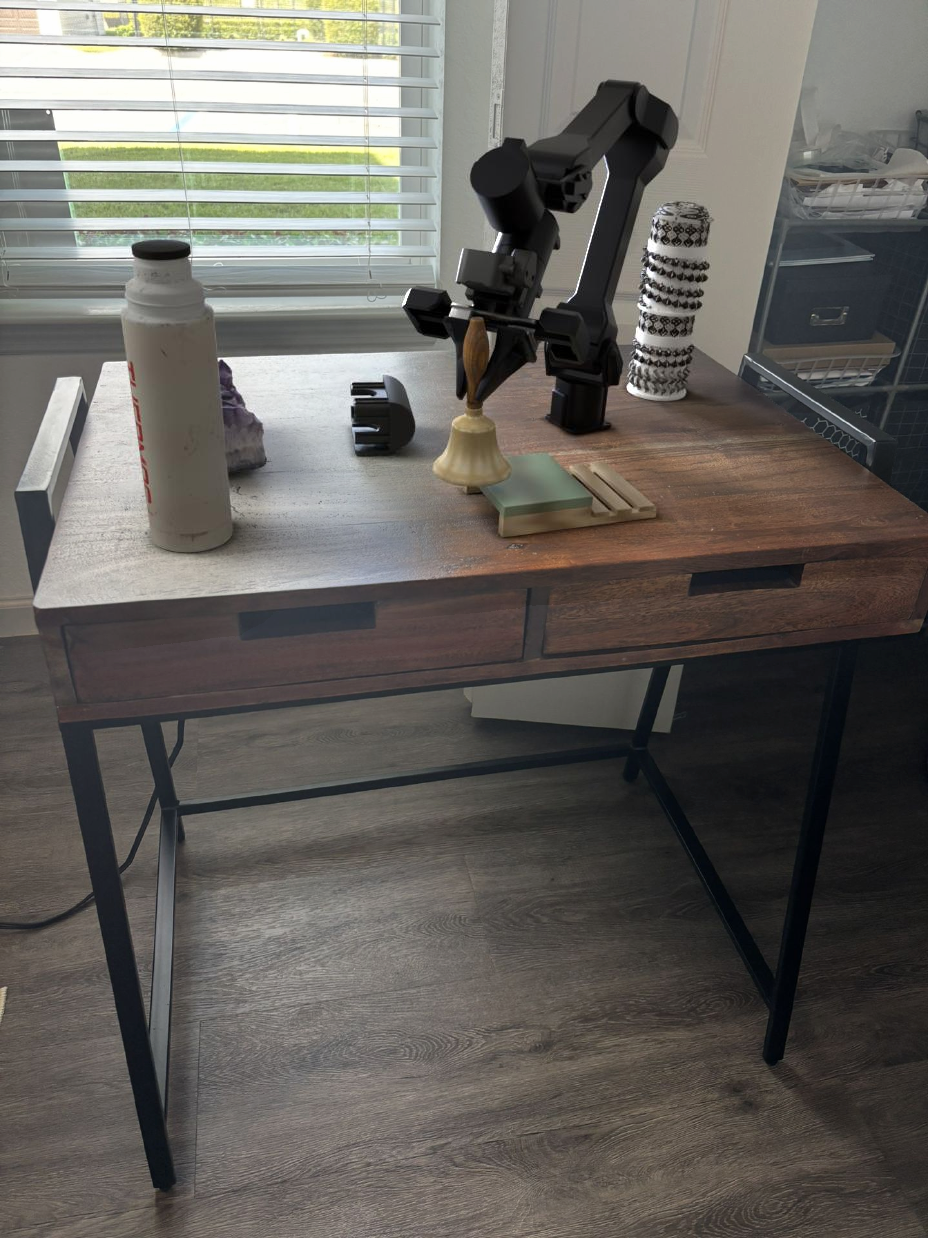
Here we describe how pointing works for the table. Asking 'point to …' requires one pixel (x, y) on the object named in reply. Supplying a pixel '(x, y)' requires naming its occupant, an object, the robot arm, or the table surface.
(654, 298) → the decorative candle
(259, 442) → the geode
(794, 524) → the table surface
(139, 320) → the thermos bottle
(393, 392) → the end cap
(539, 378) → the table surface
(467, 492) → the rack
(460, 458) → the hand bell
